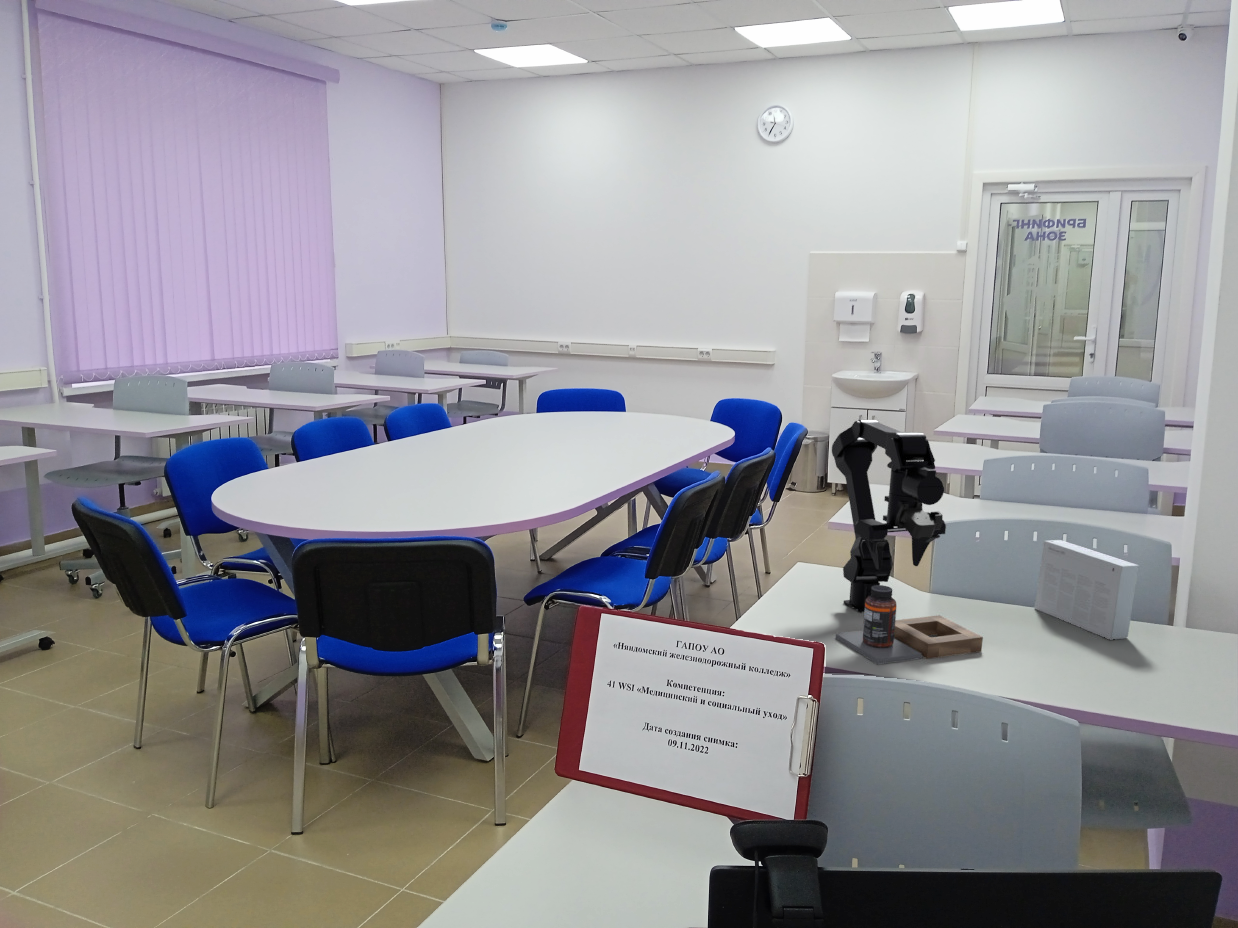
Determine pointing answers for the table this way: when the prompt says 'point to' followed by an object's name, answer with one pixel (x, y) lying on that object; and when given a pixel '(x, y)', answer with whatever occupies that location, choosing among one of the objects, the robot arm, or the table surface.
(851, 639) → the rubber mat
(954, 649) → the collar block
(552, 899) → the table surface
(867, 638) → the supplement bottle
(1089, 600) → the skincare box
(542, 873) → the table surface
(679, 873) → the table surface
